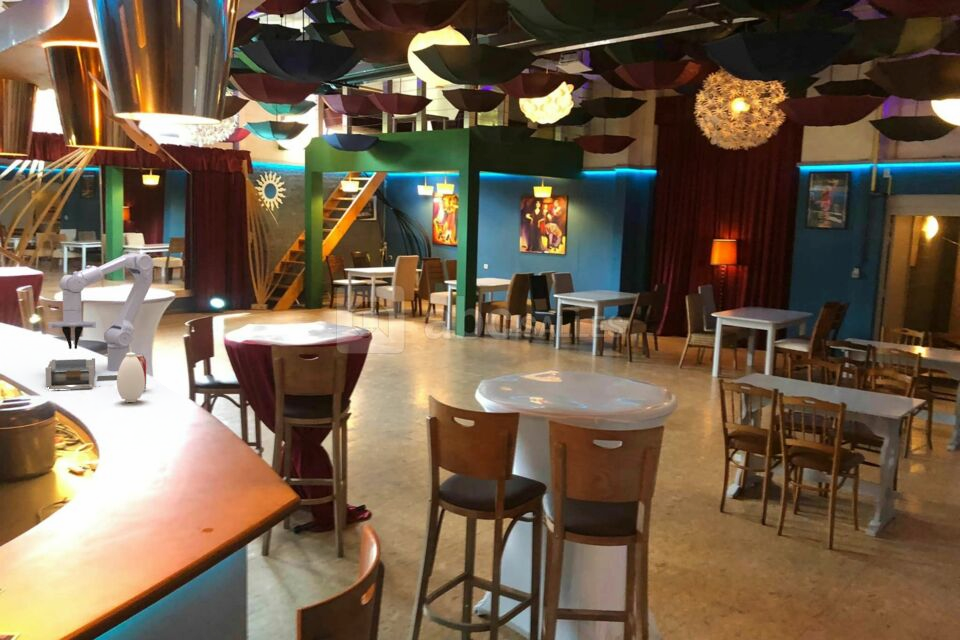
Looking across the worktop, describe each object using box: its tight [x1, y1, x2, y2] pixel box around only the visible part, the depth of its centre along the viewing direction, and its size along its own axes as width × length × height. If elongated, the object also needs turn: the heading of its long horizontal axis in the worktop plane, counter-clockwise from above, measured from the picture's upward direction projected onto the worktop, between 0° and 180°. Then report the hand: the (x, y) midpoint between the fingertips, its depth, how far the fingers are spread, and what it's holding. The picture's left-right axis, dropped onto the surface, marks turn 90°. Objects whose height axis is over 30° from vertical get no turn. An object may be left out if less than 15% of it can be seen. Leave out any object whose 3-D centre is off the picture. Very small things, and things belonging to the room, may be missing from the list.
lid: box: [47, 358, 96, 372], centre depth 261 cm, size 15×14×3 cm
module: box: [66, 370, 82, 376], centre depth 272 cm, size 4×4×5 cm
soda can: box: [125, 352, 147, 390], centre depth 254 cm, size 7×7×12 cm
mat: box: [96, 374, 118, 382], centre depth 270 cm, size 9×9×1 cm
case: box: [45, 357, 96, 388], centre depth 265 cm, size 24×14×7 cm, turn 25°
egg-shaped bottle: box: [116, 344, 145, 403], centre depth 238 cm, size 8×8×18 cm
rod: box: [48, 383, 94, 390], centre depth 252 cm, size 13×2×2 cm, turn 115°
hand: (73, 348), depth 272 cm, fingers closed
